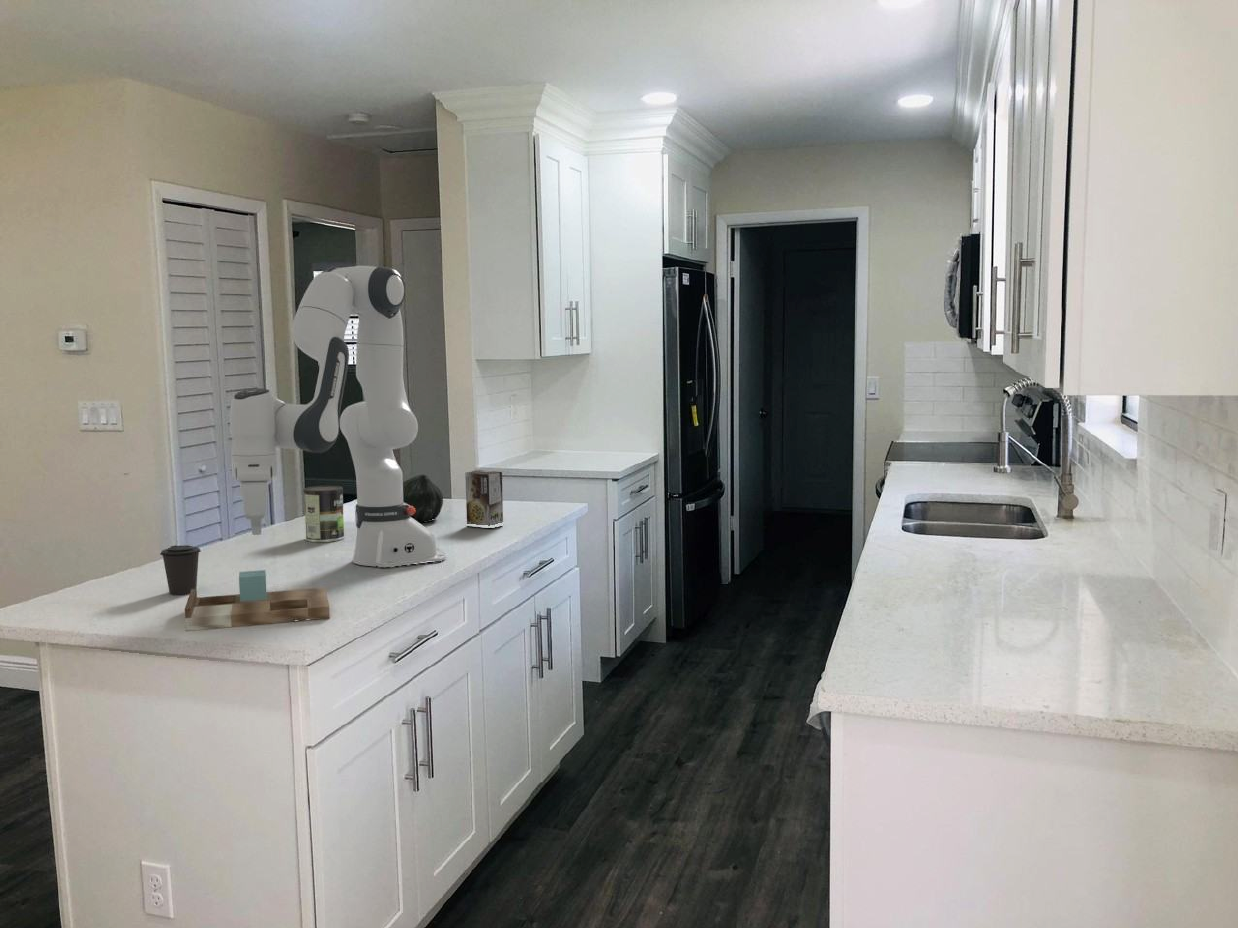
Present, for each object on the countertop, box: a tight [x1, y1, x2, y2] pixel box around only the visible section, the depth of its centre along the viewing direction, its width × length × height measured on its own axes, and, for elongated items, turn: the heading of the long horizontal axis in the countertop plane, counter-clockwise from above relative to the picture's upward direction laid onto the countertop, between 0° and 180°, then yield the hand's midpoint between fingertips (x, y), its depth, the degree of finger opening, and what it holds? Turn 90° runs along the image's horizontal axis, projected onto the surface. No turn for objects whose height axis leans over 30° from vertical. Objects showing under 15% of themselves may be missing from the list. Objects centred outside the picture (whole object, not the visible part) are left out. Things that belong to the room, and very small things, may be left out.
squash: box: [403, 474, 444, 522], centre depth 304 cm, size 14×15×15 cm
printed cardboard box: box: [464, 469, 504, 526], centre depth 295 cm, size 9×6×16 cm
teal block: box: [238, 569, 267, 602], centre depth 205 cm, size 5×5×5 cm
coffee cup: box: [159, 544, 202, 596], centre depth 219 cm, size 8×8×10 cm
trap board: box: [184, 587, 331, 632], centre depth 202 cm, size 26×16×4 cm, turn 109°
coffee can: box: [303, 485, 345, 543], centre depth 277 cm, size 10×10×14 cm
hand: (256, 533), depth 211 cm, fingers closed
